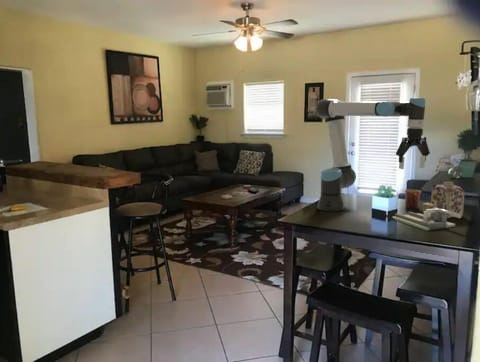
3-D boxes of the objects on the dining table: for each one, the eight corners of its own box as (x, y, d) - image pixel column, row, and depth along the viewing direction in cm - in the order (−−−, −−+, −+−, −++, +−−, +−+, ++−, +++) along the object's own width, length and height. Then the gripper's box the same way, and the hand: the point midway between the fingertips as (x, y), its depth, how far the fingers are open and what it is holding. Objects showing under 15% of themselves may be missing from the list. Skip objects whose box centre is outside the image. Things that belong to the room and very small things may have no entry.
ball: (432, 222, 184) (430, 228, 186) (437, 221, 186) (435, 227, 187) (427, 219, 187) (425, 225, 188) (432, 219, 188) (430, 224, 190)
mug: (402, 206, 231) (403, 189, 230) (417, 206, 230) (418, 189, 228) (407, 210, 220) (408, 193, 218) (423, 211, 218) (424, 193, 216)
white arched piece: (411, 218, 197) (412, 204, 196) (426, 216, 201) (427, 202, 200) (445, 229, 178) (446, 213, 177) (462, 226, 181) (463, 211, 180)
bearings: (430, 222, 195) (430, 211, 194) (434, 221, 196) (435, 211, 195) (441, 226, 188) (442, 215, 187) (446, 225, 189) (447, 214, 188)
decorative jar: (447, 218, 202) (450, 184, 199) (429, 213, 213) (431, 181, 210) (463, 215, 207) (466, 182, 204) (445, 211, 217) (447, 179, 215)
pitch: (392, 218, 203) (392, 213, 202) (418, 215, 209) (419, 210, 208) (426, 230, 181) (426, 225, 181) (455, 226, 187) (455, 221, 187)
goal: (419, 226, 188) (420, 220, 187) (435, 224, 191) (436, 218, 190) (429, 230, 182) (430, 223, 182) (445, 227, 185) (446, 221, 185)
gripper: (400, 128, 193) (397, 170, 197) (439, 128, 201) (435, 168, 205) (390, 127, 200) (387, 168, 204) (428, 127, 208) (424, 166, 212)
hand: (411, 168), depth 205 cm, fingers open, 13 cm apart
